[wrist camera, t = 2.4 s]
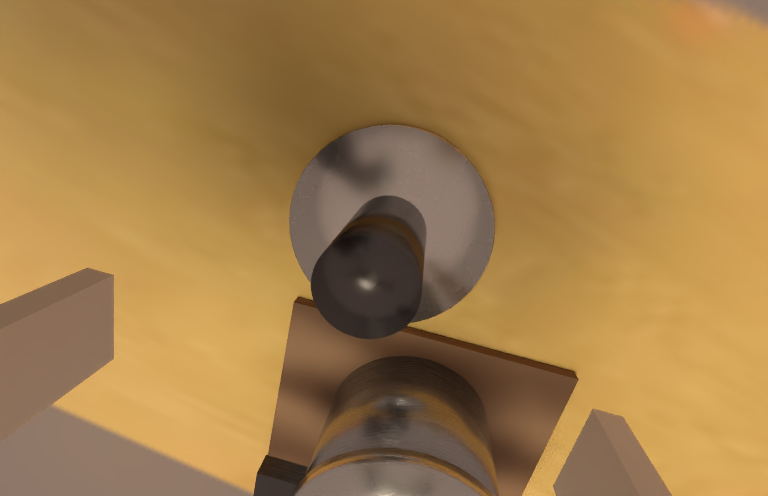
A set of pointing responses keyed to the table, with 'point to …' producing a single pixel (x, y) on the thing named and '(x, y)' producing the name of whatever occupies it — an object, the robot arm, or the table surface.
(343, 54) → the table surface
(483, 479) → the cooker pot
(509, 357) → the walnut board
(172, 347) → the table surface
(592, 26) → the table surface
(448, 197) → the lid
